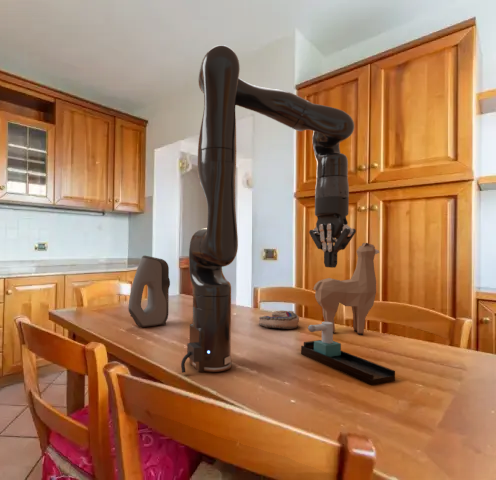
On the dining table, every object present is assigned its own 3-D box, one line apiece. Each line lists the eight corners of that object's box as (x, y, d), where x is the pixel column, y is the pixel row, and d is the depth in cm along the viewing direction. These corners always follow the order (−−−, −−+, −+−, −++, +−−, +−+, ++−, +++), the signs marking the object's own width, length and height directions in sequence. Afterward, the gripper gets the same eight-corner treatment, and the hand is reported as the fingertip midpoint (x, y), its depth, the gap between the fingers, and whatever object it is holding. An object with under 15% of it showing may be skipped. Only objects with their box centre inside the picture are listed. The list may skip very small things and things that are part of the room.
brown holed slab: (170, 324, 121) (170, 255, 121) (132, 330, 112) (133, 256, 112) (161, 321, 126) (161, 254, 126) (124, 326, 117) (125, 255, 117)
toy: (384, 338, 105) (384, 242, 105) (316, 334, 109) (316, 242, 109) (373, 330, 114) (373, 242, 114) (310, 327, 118) (311, 242, 118)
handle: (314, 359, 81) (314, 326, 82) (303, 354, 85) (303, 322, 85) (341, 355, 84) (341, 323, 84) (328, 350, 88) (328, 320, 88)
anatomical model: (252, 325, 120) (252, 312, 120) (279, 319, 130) (279, 307, 130) (281, 332, 110) (281, 318, 110) (308, 325, 120) (308, 312, 120)
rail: (371, 385, 70) (371, 370, 70) (301, 353, 89) (301, 342, 89) (395, 380, 72) (395, 366, 72) (321, 351, 92) (321, 339, 92)
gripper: (300, 199, 87) (299, 265, 87) (341, 192, 75) (340, 269, 74) (323, 201, 90) (322, 265, 89) (366, 194, 77) (365, 269, 77)
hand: (330, 267), depth 82 cm, fingers closed
